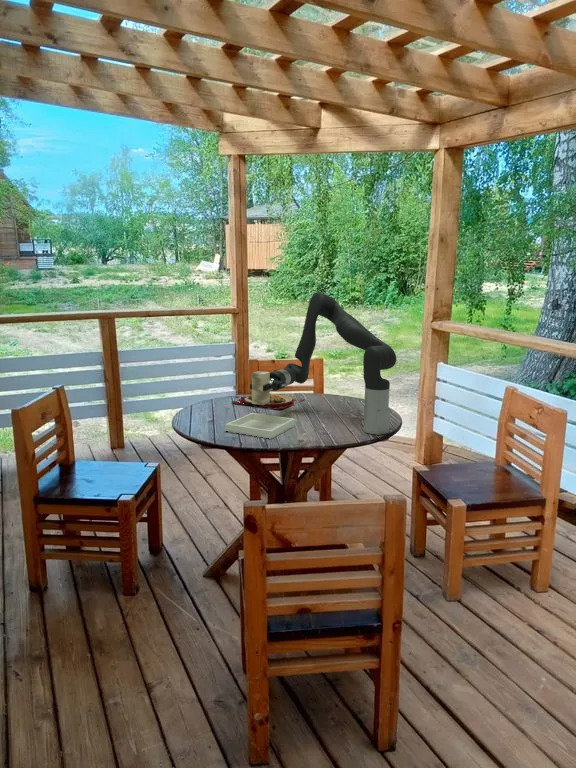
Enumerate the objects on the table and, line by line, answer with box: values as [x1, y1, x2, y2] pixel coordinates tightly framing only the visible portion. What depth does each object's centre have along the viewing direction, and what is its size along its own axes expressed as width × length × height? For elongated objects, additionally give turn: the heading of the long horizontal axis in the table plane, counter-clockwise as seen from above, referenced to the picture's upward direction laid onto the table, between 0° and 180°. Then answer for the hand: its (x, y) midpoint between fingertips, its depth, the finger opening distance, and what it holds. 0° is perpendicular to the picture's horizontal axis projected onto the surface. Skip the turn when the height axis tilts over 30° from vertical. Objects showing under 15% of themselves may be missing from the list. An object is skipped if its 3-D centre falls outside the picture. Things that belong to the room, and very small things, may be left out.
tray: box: [224, 412, 296, 440], centre depth 215 cm, size 20×20×3 cm
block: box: [251, 370, 271, 406], centre depth 212 cm, size 5×5×12 cm
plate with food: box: [230, 393, 306, 410], centre depth 259 cm, size 25×26×4 cm
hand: (257, 387), depth 209 cm, fingers closed on block, 5 cm apart
